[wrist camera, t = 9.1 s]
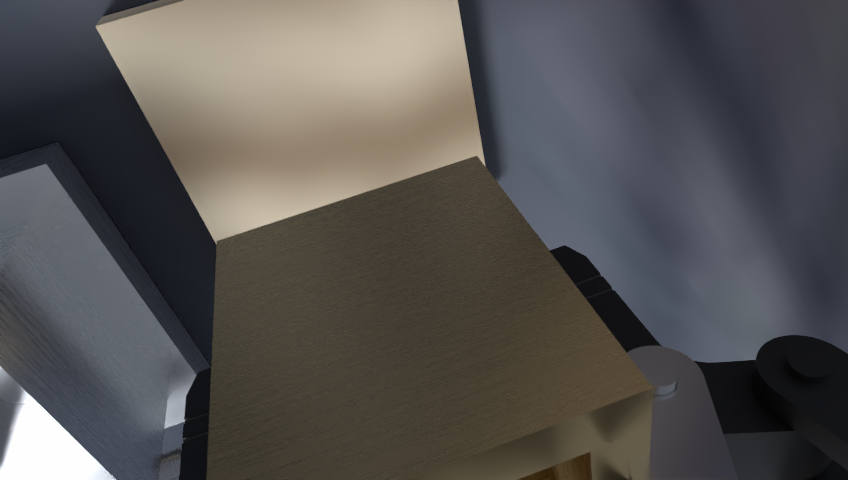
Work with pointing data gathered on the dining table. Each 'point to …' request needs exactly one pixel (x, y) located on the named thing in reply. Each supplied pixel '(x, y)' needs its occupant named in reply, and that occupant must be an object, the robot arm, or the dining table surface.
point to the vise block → (81, 336)
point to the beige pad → (296, 98)
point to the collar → (414, 346)
